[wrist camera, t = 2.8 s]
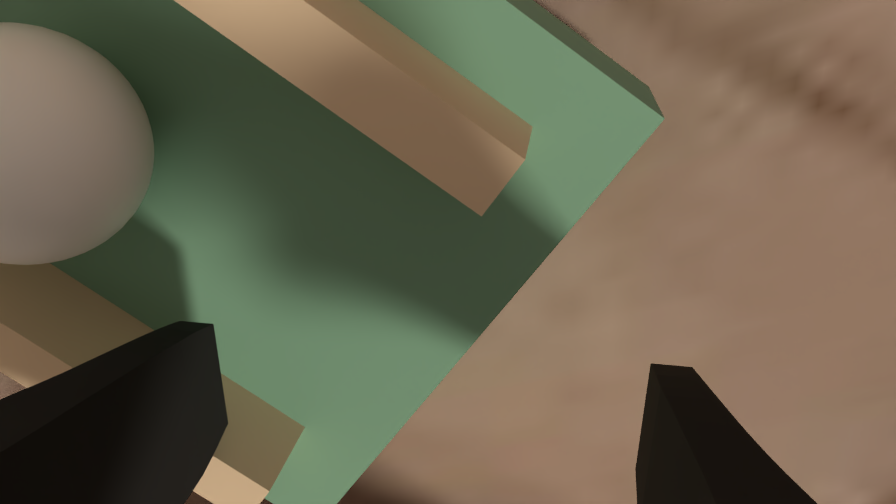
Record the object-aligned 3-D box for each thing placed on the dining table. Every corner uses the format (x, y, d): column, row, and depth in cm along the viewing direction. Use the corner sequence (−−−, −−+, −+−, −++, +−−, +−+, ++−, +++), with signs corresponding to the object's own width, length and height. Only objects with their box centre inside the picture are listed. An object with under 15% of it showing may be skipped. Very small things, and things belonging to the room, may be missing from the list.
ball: (229, 95, 11) (96, 155, 8) (148, 252, 13) (9, 353, 10) (39, -35, 11) (-175, -25, 8) (-22, 140, 13) (-222, 207, 9)
